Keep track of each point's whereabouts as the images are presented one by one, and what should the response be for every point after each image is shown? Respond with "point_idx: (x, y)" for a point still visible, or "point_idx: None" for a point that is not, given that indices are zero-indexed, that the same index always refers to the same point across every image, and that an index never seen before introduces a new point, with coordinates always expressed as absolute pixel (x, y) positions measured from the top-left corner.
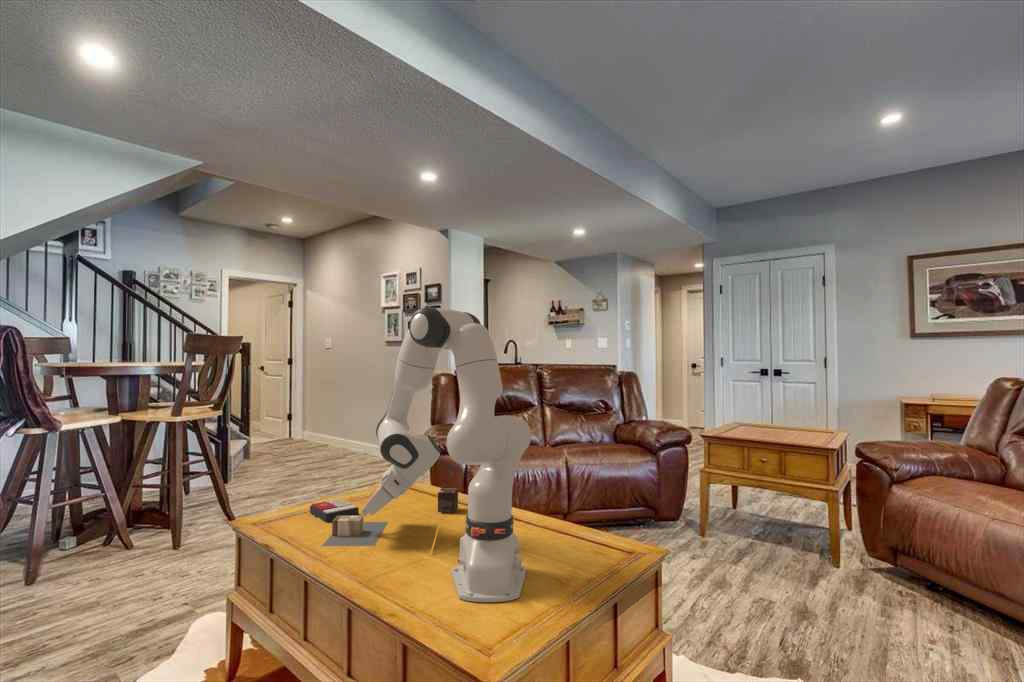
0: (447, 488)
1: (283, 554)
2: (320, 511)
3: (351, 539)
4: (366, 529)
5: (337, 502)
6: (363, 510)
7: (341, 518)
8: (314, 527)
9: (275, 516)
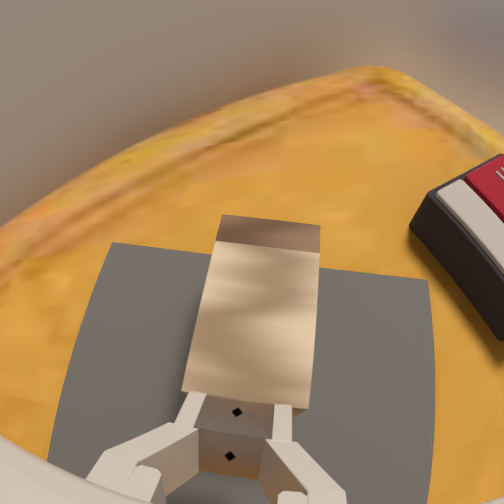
0: None
1: (113, 157)
2: (459, 175)
3: (151, 363)
4: (309, 434)
5: None
6: (183, 409)
7: (257, 258)
8: (372, 190)
9: (438, 109)
